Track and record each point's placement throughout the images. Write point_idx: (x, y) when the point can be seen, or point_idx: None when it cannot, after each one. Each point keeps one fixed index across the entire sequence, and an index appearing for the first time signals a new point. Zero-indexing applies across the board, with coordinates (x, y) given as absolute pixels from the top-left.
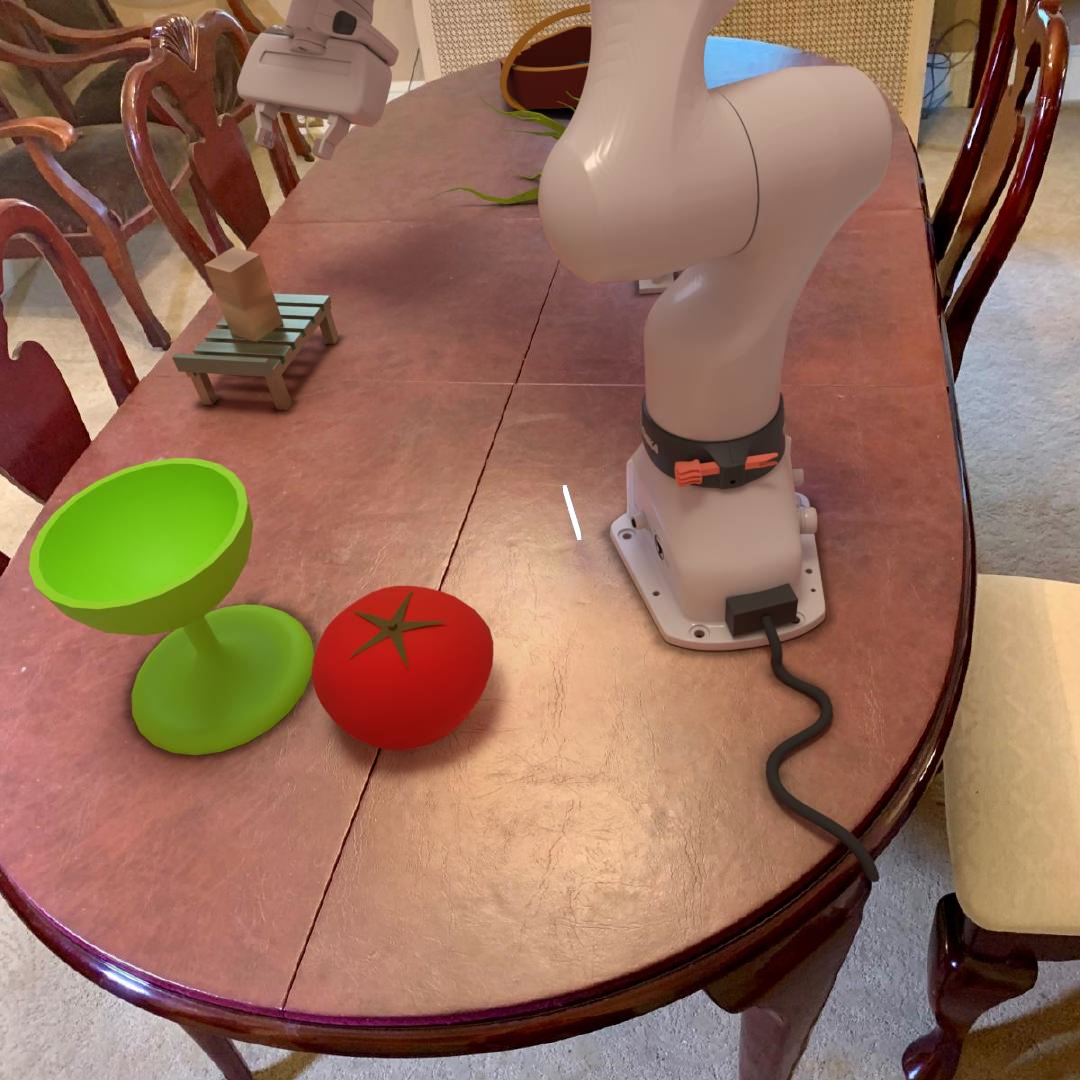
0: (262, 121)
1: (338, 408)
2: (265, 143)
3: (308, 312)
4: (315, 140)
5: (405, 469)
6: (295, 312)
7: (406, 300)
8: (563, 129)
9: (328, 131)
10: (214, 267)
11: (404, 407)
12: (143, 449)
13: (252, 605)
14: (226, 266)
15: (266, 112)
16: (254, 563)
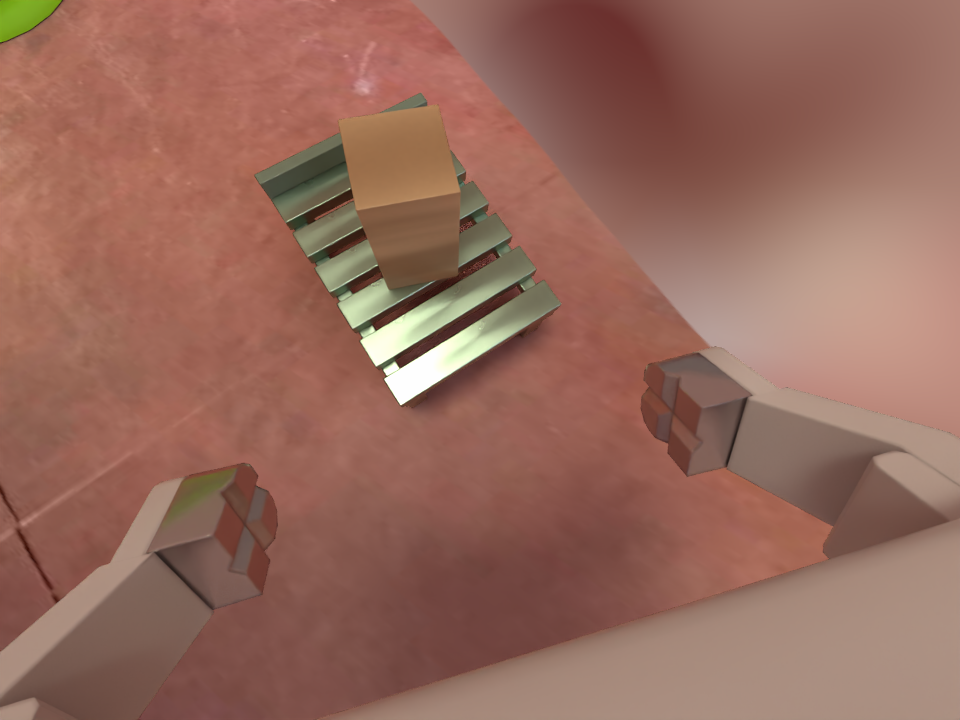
0: (802, 432)
1: (244, 295)
2: (650, 379)
3: (380, 341)
4: (210, 519)
5: (35, 273)
6: (403, 325)
7: (414, 573)
8: None
9: (48, 630)
10: (399, 111)
11: (150, 361)
12: (406, 87)
13: (3, 19)
14: (375, 129)
15: (865, 495)
16: (83, 66)
